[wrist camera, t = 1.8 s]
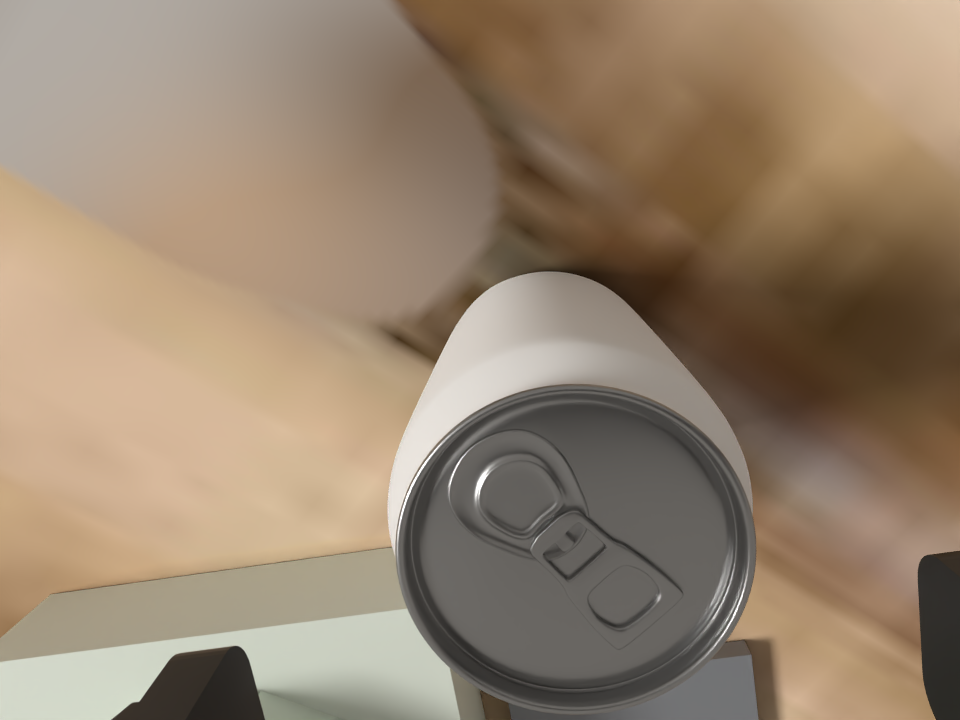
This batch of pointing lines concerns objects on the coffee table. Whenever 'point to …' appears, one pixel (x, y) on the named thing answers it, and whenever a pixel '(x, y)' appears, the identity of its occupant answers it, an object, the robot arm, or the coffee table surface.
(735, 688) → the slate coaster
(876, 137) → the coffee table surface
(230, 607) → the pedestal block
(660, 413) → the can
